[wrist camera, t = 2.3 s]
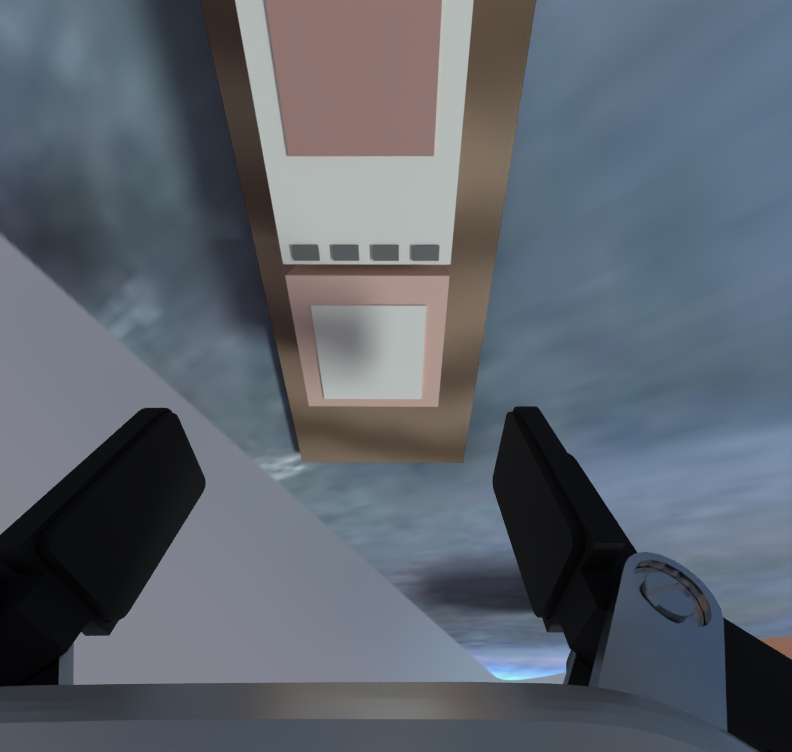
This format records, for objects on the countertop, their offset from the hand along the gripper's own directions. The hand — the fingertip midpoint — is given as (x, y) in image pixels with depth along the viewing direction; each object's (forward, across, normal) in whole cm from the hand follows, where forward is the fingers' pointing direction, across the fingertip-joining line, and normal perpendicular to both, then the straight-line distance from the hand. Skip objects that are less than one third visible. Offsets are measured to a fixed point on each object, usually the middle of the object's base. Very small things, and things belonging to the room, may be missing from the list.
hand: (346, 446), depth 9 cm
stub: (+10, 0, -1) cm, 10 cm away
